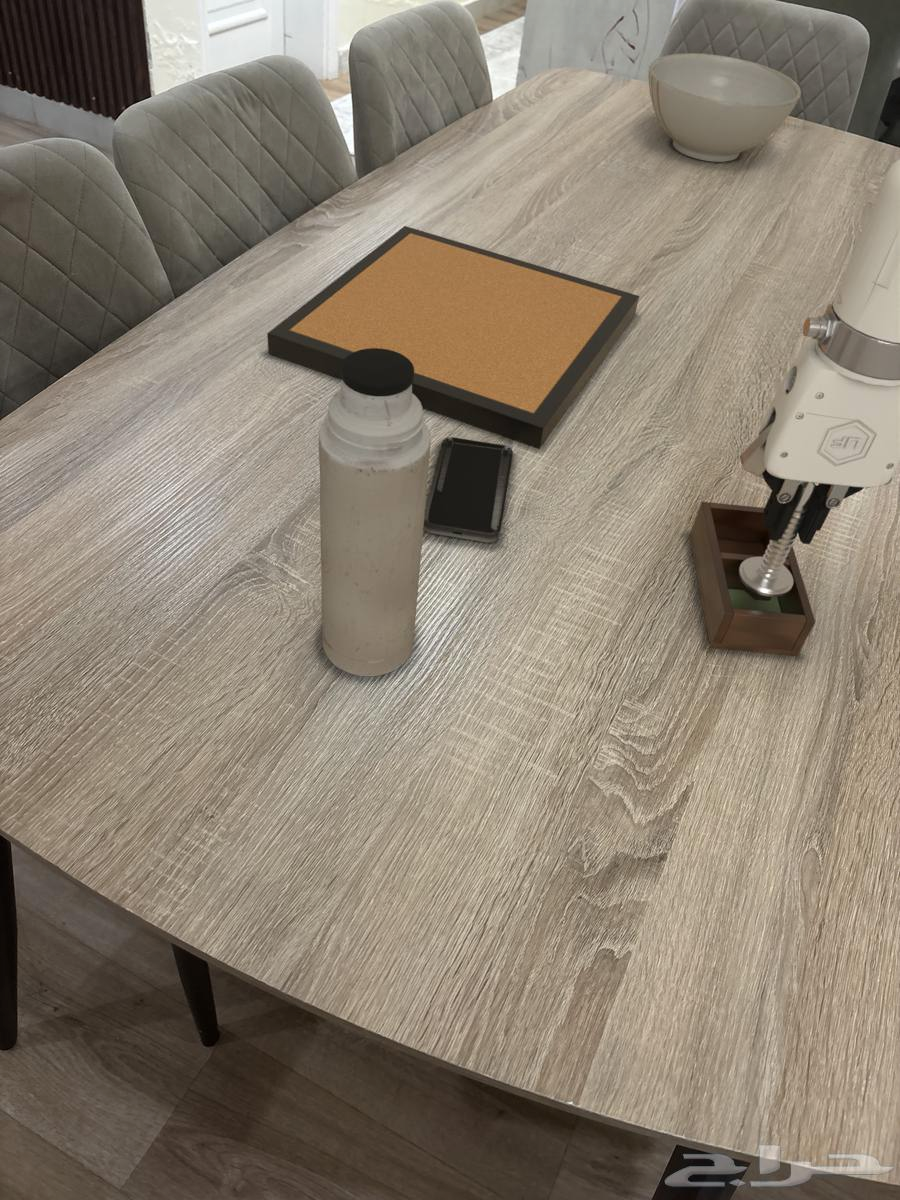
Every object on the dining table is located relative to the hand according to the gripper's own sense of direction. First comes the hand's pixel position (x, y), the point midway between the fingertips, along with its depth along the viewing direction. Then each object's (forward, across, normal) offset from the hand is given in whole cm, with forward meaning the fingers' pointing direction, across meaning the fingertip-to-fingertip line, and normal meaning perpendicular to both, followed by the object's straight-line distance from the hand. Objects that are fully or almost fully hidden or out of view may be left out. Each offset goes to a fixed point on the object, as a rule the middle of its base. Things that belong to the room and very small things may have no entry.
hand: (787, 530), depth 81 cm
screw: (+8, 0, 0) cm, 8 cm away
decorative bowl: (+11, +13, +122) cm, 123 cm away
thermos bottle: (+12, -35, -7) cm, 38 cm away
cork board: (+12, -29, +47) cm, 56 cm away
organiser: (+11, 0, +4) cm, 12 cm away
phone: (+11, -27, +15) cm, 33 cm away
